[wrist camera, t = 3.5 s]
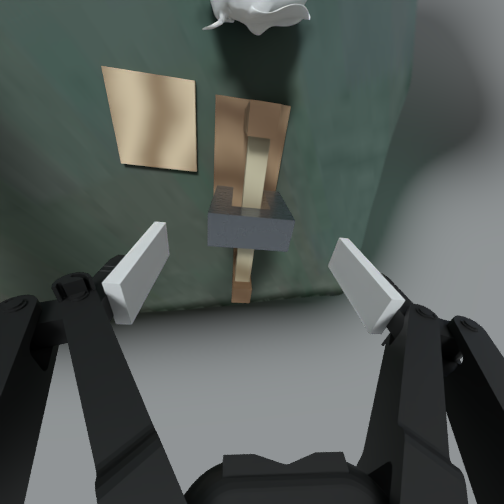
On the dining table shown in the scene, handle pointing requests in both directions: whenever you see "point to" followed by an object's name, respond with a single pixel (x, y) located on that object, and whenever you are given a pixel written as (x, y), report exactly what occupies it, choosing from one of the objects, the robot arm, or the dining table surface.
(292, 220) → the c link
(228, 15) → the elephant figurine
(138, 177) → the dining table surface
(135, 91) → the cork coaster
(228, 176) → the stand
